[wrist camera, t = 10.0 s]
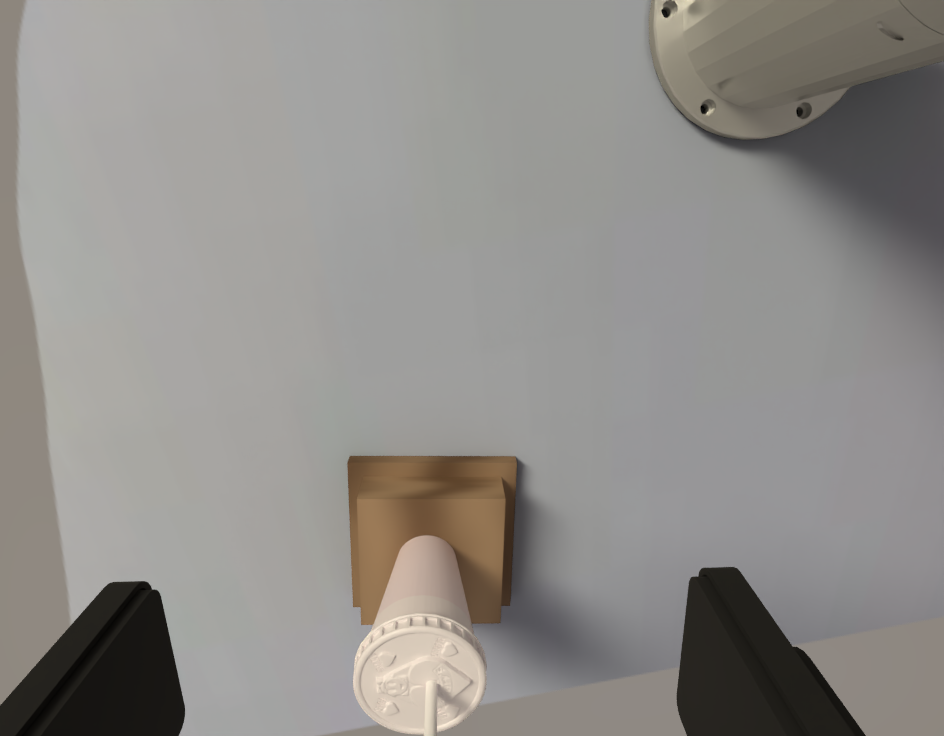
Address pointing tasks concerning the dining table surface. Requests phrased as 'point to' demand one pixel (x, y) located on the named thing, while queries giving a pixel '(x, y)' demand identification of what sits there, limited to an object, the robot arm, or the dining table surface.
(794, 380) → the dining table surface
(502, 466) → the pedestal
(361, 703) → the smoothie
